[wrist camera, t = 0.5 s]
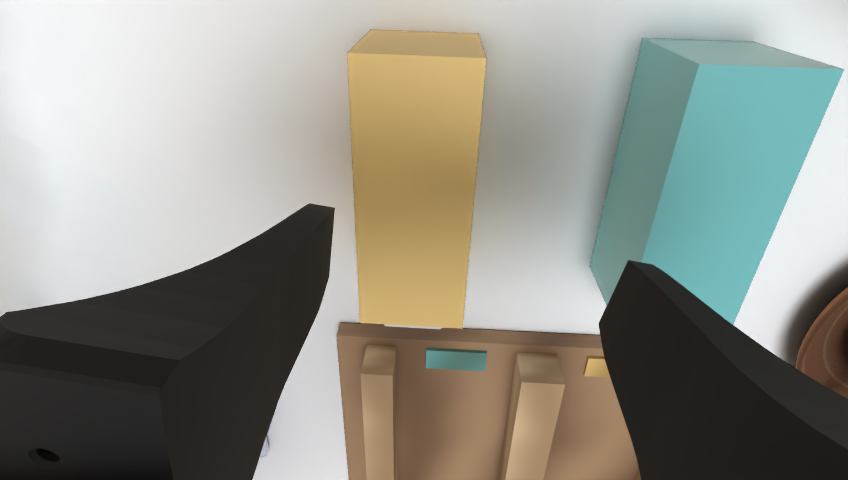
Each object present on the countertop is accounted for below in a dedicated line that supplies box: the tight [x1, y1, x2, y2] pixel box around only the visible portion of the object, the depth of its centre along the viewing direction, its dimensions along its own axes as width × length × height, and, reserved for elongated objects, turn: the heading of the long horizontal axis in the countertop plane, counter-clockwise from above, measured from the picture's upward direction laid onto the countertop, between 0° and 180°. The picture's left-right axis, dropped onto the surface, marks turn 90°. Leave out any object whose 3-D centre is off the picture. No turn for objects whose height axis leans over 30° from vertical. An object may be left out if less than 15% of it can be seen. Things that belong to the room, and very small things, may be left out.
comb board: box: [337, 323, 641, 480], centre depth 28 cm, size 20×17×3 cm
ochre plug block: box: [347, 30, 486, 329], centre depth 19 cm, size 4×11×5 cm, turn 178°
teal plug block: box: [590, 38, 844, 325], centre depth 19 cm, size 4×11×5 cm, turn 178°
